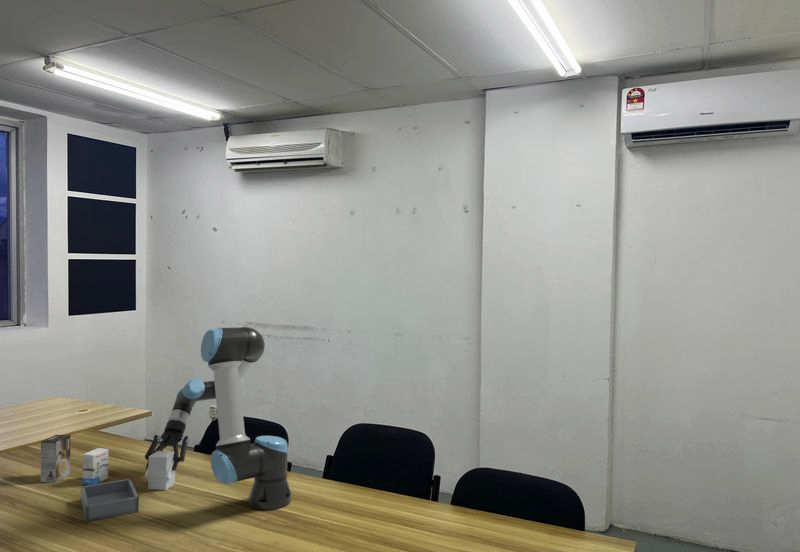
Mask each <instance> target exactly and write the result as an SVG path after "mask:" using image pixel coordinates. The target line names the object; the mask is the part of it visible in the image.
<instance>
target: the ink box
mask: <svg viewBox="0 0 800 552" xmlns="http://www.w3.org/2000/svg"><path fill="white" fill-rule="evenodd" d="M108 478H109V448H101V447H97V448H94V449H92V450H90V451H87V452H85V453H84V454H82V485H83V486H84V485H85V486H89V485H95V484H100V483H102V482H104V481H105V480H107V479H108Z"/></svg>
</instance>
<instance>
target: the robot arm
mask: <svg viewBox="0 0 800 552" xmlns="http://www.w3.org/2000/svg"><path fill="white" fill-rule="evenodd" d="M265 346H266V345H265V340H264V338H263V336H262V335H261V333H260V331H258V330H256V329H254V328H253V327H250V326H249V327H248V326H242V327H217V328H210V329H208V330H207V331H206V332H205V333H204V335H203V337H202V340H201V344H200V357H201V359H202V361H203V362H206V363H207V364H208V368H209V369H210V370H212V372H213V380H208V381H202V380H201V379H197V378H193V379H189V380H188V382H187V383H186V384H184V386H183V388H180V389H179V391H178V393H177V395H176V398H175V401H174V404H173V405H172V406H173V407H172V409H171V412H170V414H169V416H168V420H167V422H166V425H165V428H164V431H163V433H162V434H160V435H158V434H154V435H153V440H152V442H151V443H150V446H149V447H148V450H146V453H145V454H144V459H145V460H146V461H147V463H146V465H145V468H146V471H145V474H144V476H145V478H146V480H148V467H149V458H148V457H149V456H151V455H152V454H154V453H155V452H157V451H164V449H166V448H167V447H169V446H171V447H173V448H172V449H173V451H174V460H172V461H171V464H170V467H169V470H168V473H167V476H166V477H167V479H168V480H170V479H171V476H172V473H173V471H175V472H176V471H177V467H178V465H179V463H184V462H185V459H186V453H187V452H186V451H187V446H188V443H189V441H190V438H189V435H185V436H184V434H185V430H186V428H187V424H188V422H189V420H190V419H189V418H190V417H191V416H190V415H191V412H192V410H193V408H194V406H195V405H196V403H197V402H200V401H201V402H203V401H208V400H215V401H216V402H215V403H216V411H217V412H216V413H217V422H218V423H217V424H218V434H219V440H218V441H217V443H216V444H215V450H214V451H212V453H211V454H210V457H211V458H210V466H211V470H212V473H213V475H214V477H215V479H216V480H217V482H218V483H221V484H223V485H227V484H235V483H239V482H242V481H246V480H249V479H253V484H252V487H251V490H250V491H249V492H250V493H249V495H248V505H249V506H250V507H251V508H254V509H258V510H265V511H267V510H276V509H280V508H283V507H286V506H287V505H289V504H290V503H291V501H292V492H291V489H290V484H289V482H288V454H289V450H288V449H289V448H288V442H287V441H286V439H285V438H284V437H283V438H282V437H280V436H274V435H260V436H259V435H258V436H256V437H255V439H254V442H253V443H251V438H250V437H249V436H247V435H246V431H245V420H244V412H243V403H242V402H243V401H242V393H241V383H240V381H241V379H242V377H243V376H244V375H245V373H246V372H247V371H248V370H249V369H250V368H251V366H252V365H253V363H256V362H258V361H259V360H260V358H261V357H263V356H262V355H263V354H264V353H265ZM180 442H182V443H181V447H180V453H179V443H180Z"/></svg>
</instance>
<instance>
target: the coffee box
mask: <svg viewBox="0 0 800 552" xmlns="http://www.w3.org/2000/svg"><path fill="white" fill-rule="evenodd" d="M71 437H72V435H71V434H54V435H52V436H50V437H48V438H45V439H43V440H41V441H40V482H41V483H58V482H59V481H61V480H62V479H64V478H66V477H68V476H69V475H71V445H72V444H71V440H72V439H71Z"/></svg>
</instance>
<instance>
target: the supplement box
mask: <svg viewBox="0 0 800 552" xmlns="http://www.w3.org/2000/svg"><path fill="white" fill-rule="evenodd" d="M148 458H149V467H148V479H147V482H148V483H147V488H148V490H157V491H158V490H159V491H167V490H168V489H170V488H171V487H172V486H173V485H174V484H176V483H175V482H176V470H175V471H173V473H172V476H171V479H170V480H168V479H167V477H166V476H167V473H168V470H169V467H170V464H171V461H172V460H174V450H173V451H171V450H162V451H157V452H155V453H154V454H152V455H151V456H149V457H148Z"/></svg>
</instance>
